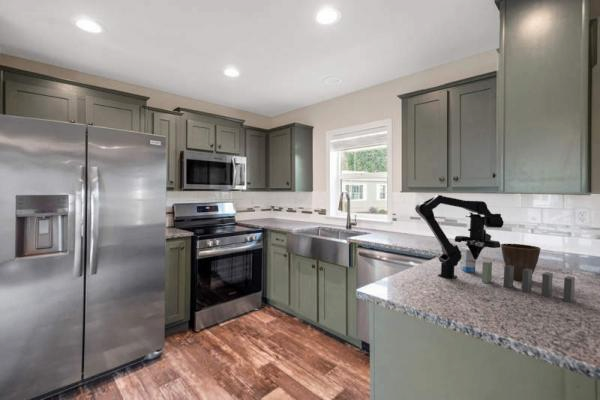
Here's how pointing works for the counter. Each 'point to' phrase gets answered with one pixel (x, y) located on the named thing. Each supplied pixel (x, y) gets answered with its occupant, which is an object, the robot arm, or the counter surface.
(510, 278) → the domino
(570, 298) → the domino end
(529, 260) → the plant pot
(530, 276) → the domino
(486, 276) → the sage domino
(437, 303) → the counter surface
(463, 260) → the ink box
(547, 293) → the domino
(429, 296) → the counter surface
